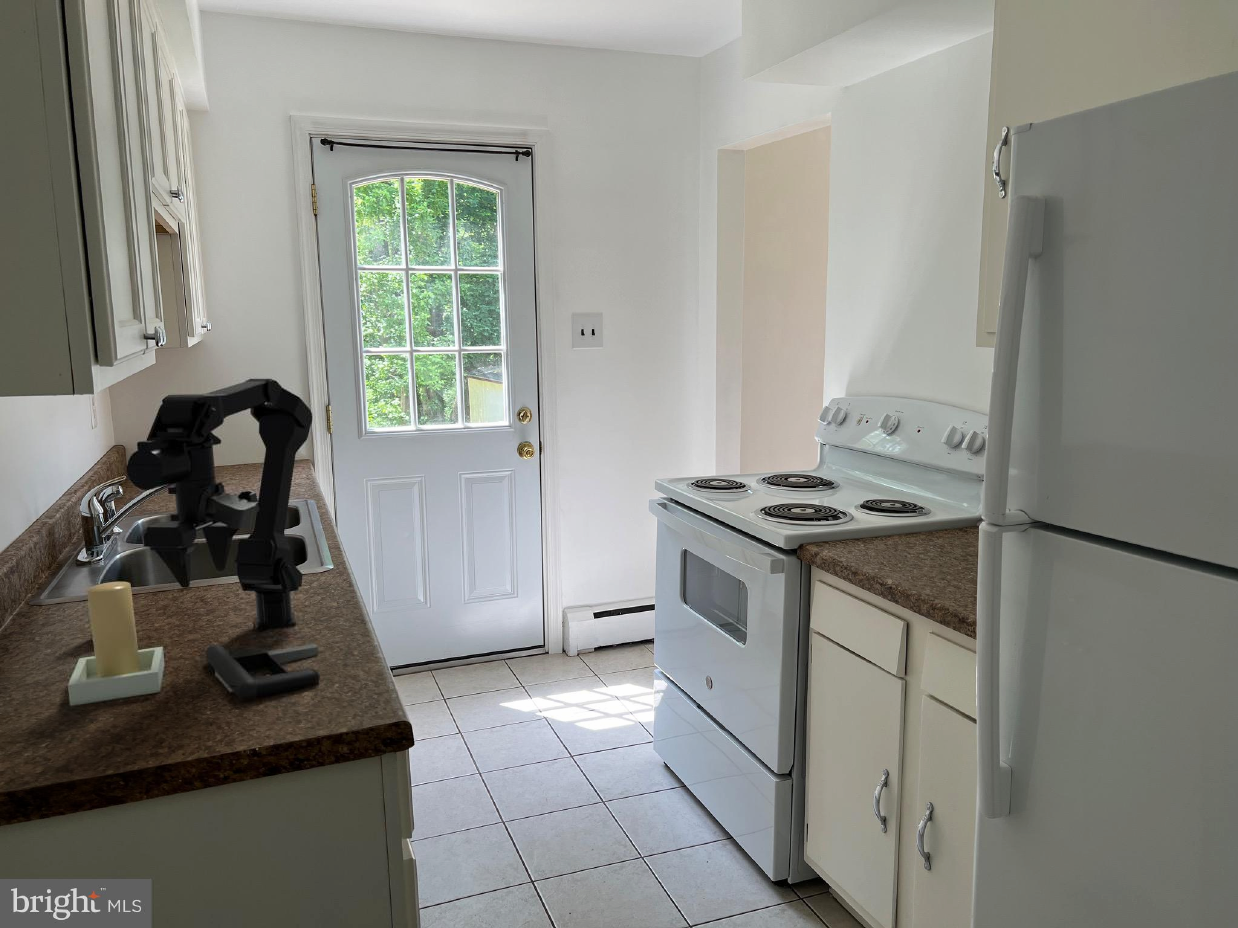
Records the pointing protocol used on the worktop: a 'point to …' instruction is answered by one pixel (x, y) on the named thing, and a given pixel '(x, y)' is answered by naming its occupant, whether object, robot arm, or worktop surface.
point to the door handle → (239, 663)
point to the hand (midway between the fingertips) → (203, 578)
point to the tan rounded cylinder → (113, 629)
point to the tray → (116, 679)
